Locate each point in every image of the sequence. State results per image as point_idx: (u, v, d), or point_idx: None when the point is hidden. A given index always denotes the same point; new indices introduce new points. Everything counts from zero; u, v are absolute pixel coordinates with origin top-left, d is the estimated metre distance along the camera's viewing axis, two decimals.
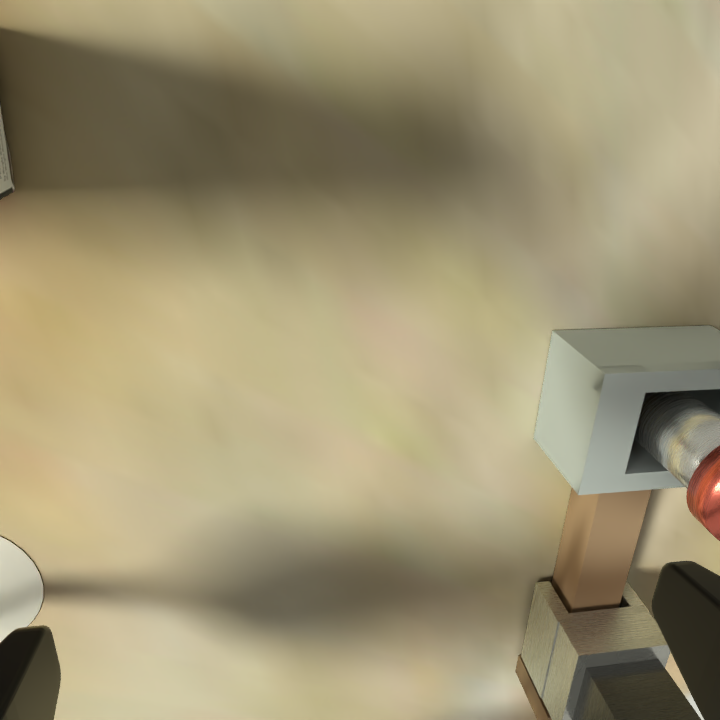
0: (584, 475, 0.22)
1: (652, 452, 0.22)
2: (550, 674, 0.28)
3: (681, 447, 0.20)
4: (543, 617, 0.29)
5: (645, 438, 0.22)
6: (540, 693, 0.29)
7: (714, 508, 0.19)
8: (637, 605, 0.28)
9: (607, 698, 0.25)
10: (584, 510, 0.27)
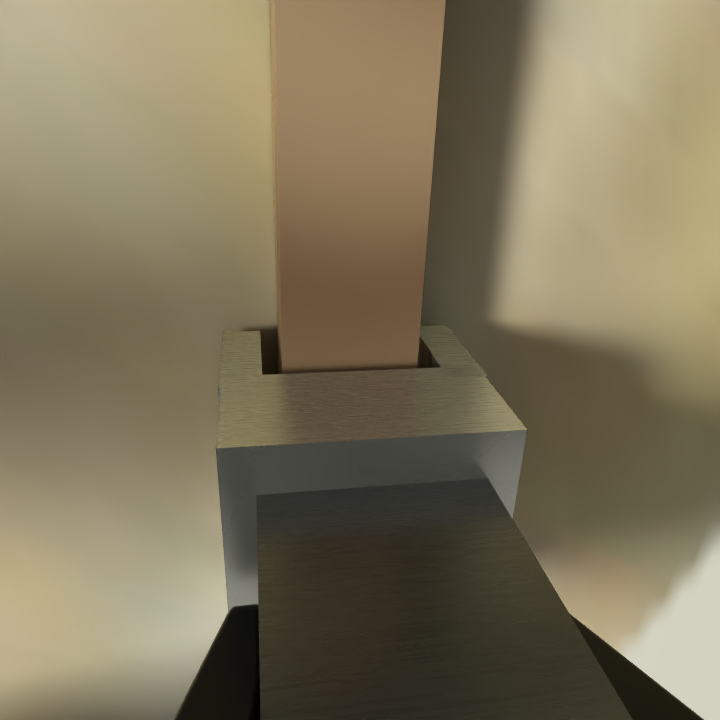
0: None
1: None
2: None
3: None
4: None
5: None
6: None
7: None
8: (461, 367, 0.11)
9: (269, 570, 0.07)
10: (273, 46, 0.09)
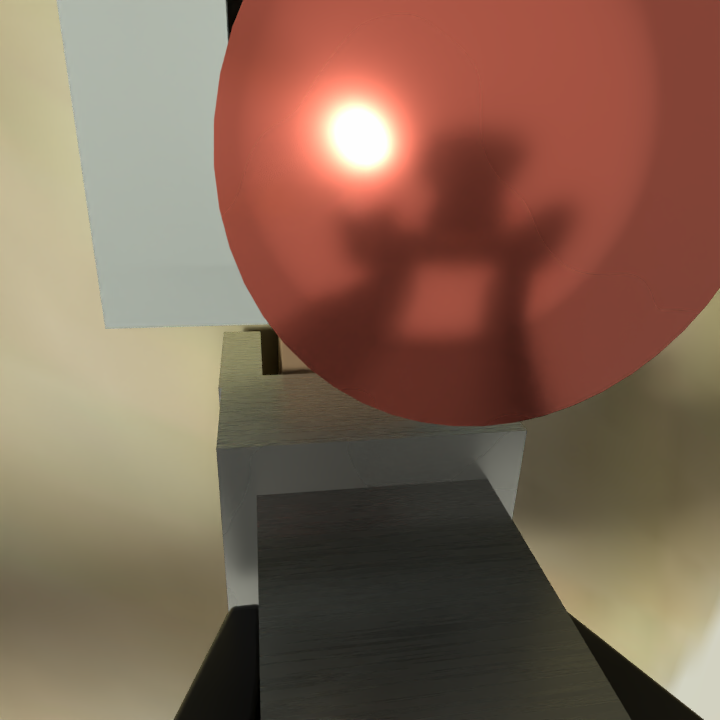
0: (101, 261, 0.07)
1: None
2: None
3: None
4: None
5: None
6: None
7: (254, 199, 0.04)
8: None
9: (269, 570, 0.07)
10: None
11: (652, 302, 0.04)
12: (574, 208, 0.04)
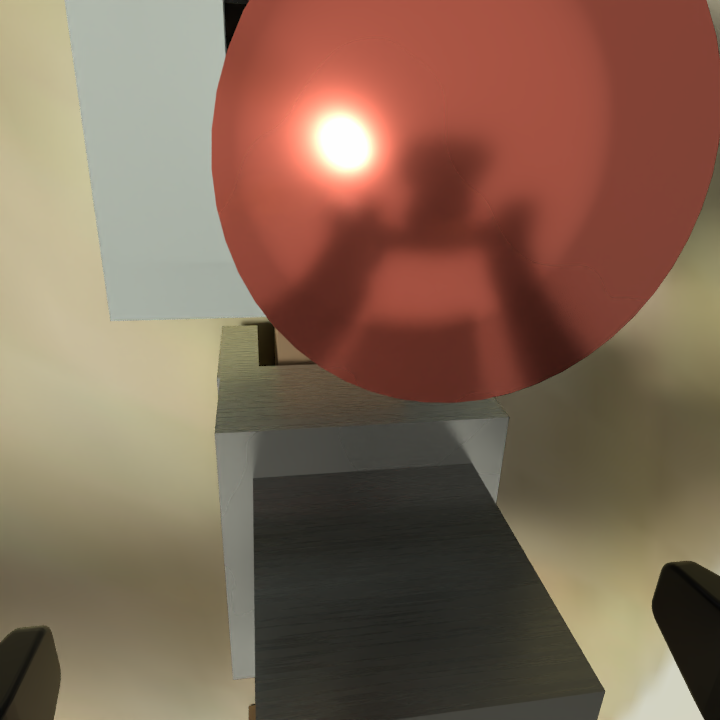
0: (106, 257, 0.08)
1: None
2: None
3: None
4: None
5: None
6: None
7: (246, 198, 0.04)
8: None
9: (264, 546, 0.08)
10: None
11: (604, 290, 0.05)
12: (531, 206, 0.04)
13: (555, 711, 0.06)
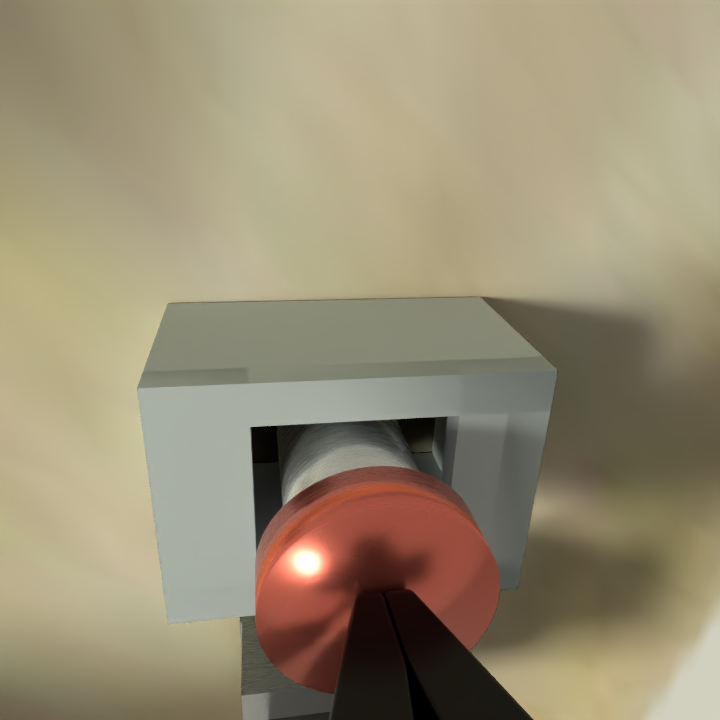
0: (166, 588, 0.11)
1: None
2: None
3: (287, 491, 0.11)
4: None
5: None
6: None
7: (271, 630, 0.09)
8: None
9: None
10: None
11: None
12: None
13: None
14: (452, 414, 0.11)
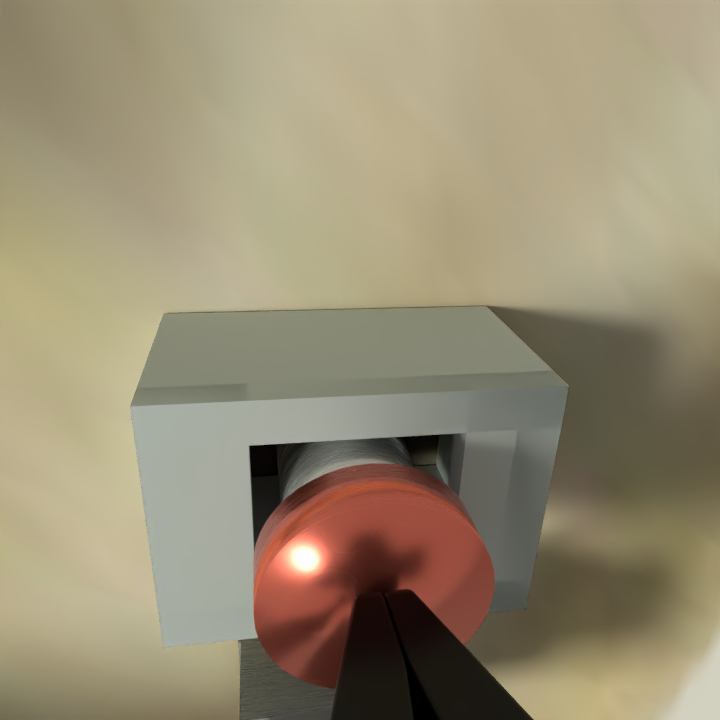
0: (162, 612, 0.11)
1: None
2: None
3: (285, 488, 0.11)
4: None
5: (278, 467, 0.13)
6: None
7: (269, 625, 0.09)
8: None
9: None
10: None
11: None
12: None
13: None
14: (459, 431, 0.10)
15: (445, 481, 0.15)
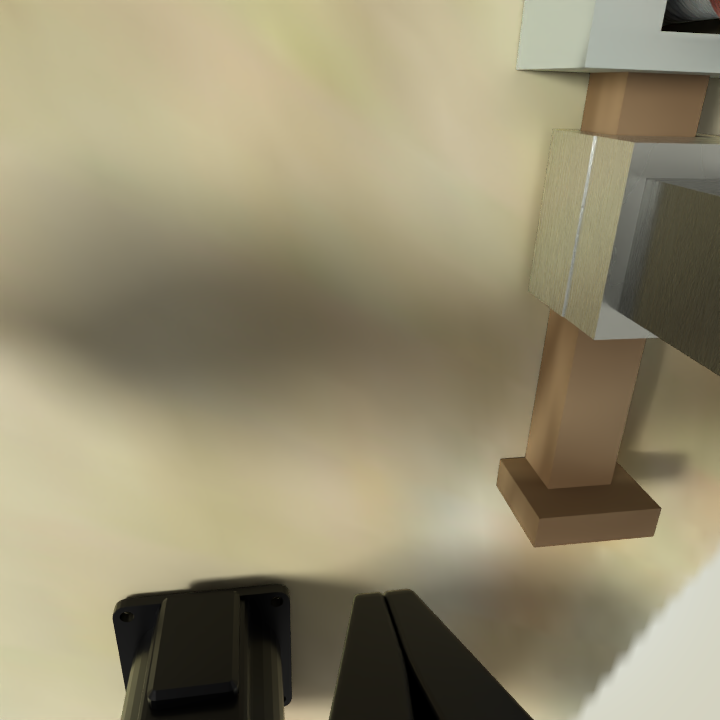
0: (594, 23, 0.14)
1: None
2: (579, 253, 0.17)
3: None
4: (566, 169, 0.17)
5: None
6: (561, 308, 0.18)
7: None
8: None
9: (691, 188, 0.13)
10: None
11: None
12: None
13: None
14: None
15: None
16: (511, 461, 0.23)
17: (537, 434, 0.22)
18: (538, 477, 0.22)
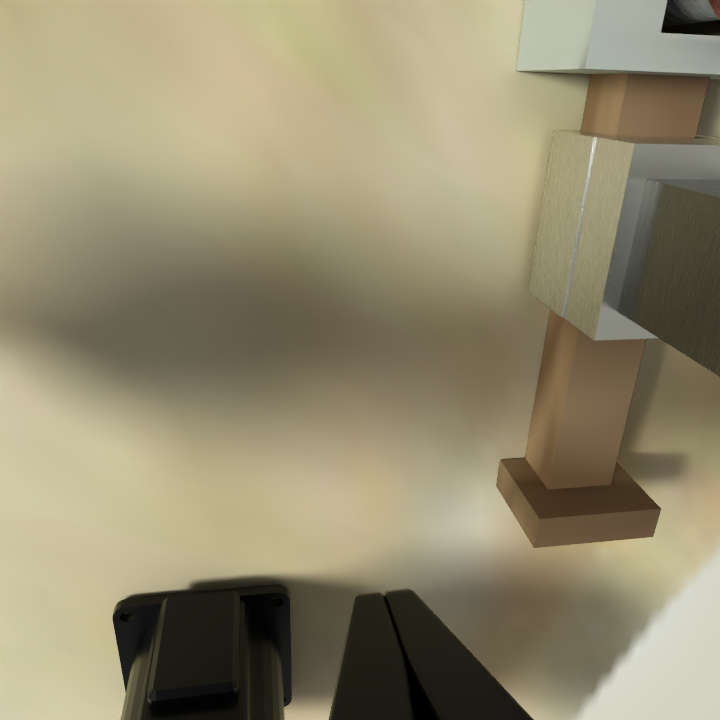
0: (595, 25, 0.14)
1: None
2: (579, 253, 0.17)
3: None
4: (566, 170, 0.17)
5: None
6: (561, 309, 0.18)
7: None
8: None
9: (691, 189, 0.14)
10: None
11: None
12: None
13: None
14: None
15: None
16: (511, 462, 0.23)
17: (537, 435, 0.22)
18: (538, 477, 0.22)
